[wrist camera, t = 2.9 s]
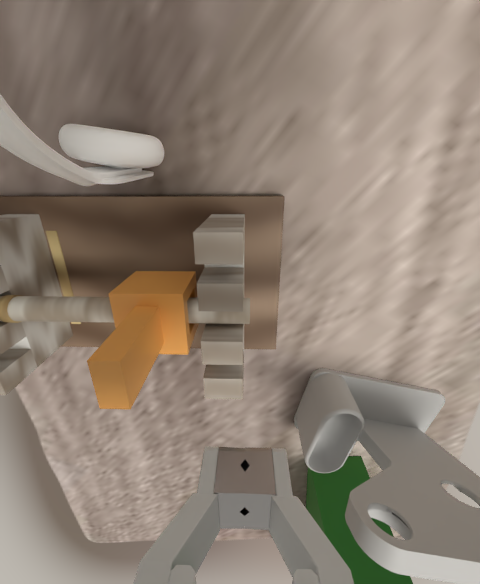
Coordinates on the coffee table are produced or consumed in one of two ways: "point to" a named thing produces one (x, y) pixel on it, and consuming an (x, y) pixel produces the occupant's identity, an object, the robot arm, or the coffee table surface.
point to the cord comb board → (137, 257)
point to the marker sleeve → (142, 333)
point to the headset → (83, 151)
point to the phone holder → (394, 473)
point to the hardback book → (331, 519)
